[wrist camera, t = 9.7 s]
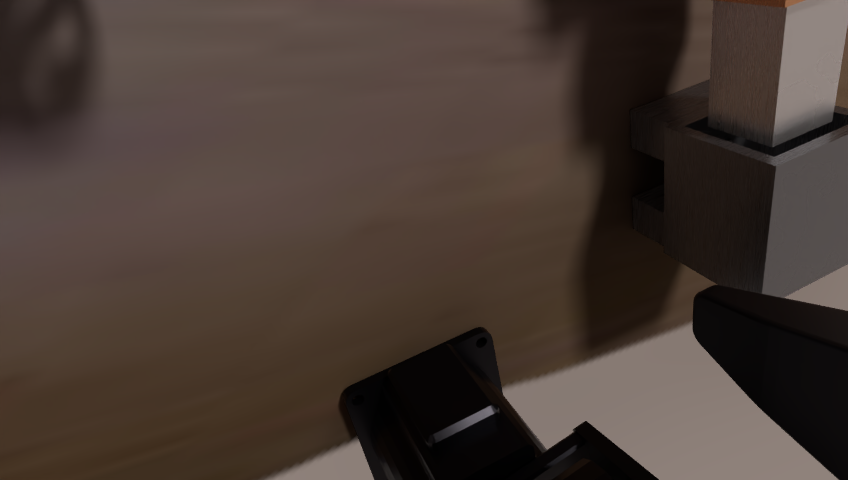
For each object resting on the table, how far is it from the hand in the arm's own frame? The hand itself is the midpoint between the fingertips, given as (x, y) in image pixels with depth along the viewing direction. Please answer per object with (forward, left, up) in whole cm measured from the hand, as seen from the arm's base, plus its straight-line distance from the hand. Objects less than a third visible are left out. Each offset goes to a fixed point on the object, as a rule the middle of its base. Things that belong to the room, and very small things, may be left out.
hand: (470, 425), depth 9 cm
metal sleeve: (-5, -15, -12) cm, 20 cm away
